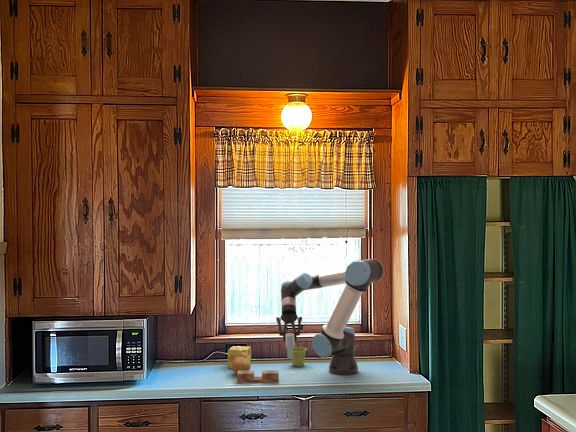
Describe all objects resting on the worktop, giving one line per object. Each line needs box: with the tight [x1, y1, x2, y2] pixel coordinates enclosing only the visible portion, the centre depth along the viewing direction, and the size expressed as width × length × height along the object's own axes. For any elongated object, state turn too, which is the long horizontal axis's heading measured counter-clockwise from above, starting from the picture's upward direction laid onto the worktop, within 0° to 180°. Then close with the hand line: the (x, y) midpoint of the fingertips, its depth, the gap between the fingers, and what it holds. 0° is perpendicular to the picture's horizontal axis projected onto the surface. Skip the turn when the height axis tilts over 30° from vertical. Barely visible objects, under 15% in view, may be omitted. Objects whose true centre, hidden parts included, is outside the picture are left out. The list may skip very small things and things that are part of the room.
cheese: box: [227, 345, 252, 369], centre depth 352 cm, size 10×11×10 cm
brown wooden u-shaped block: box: [236, 369, 280, 384], centre depth 321 cm, size 20×6×4 cm, turn 91°
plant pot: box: [291, 347, 308, 368], centre depth 353 cm, size 9×9×9 cm
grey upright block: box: [286, 332, 293, 360], centre depth 324 cm, size 8×3×11 cm, turn 1°
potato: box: [231, 357, 251, 375], centre depth 335 cm, size 10×14×8 cm
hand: (290, 346), depth 322 cm, fingers closed on grey upright block, 3 cm apart
